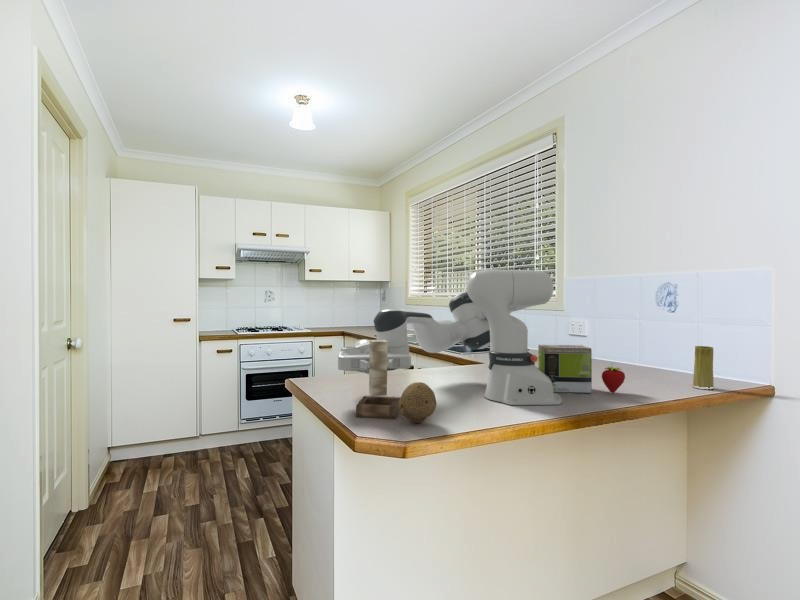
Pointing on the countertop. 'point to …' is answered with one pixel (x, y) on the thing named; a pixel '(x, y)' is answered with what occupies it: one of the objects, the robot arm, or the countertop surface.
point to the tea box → (567, 367)
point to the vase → (703, 367)
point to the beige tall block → (378, 367)
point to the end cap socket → (377, 407)
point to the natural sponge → (417, 402)
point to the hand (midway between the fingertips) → (378, 365)
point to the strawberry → (613, 378)
